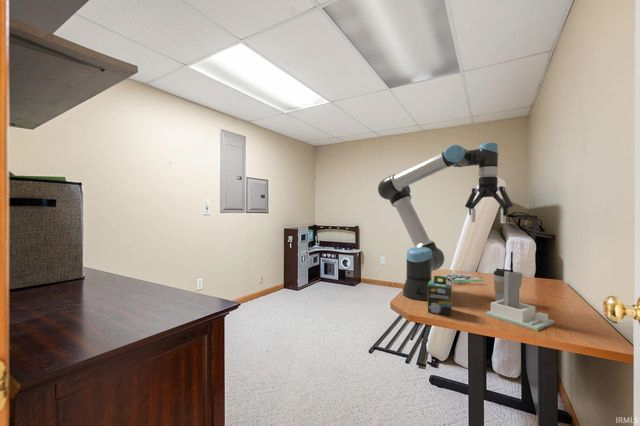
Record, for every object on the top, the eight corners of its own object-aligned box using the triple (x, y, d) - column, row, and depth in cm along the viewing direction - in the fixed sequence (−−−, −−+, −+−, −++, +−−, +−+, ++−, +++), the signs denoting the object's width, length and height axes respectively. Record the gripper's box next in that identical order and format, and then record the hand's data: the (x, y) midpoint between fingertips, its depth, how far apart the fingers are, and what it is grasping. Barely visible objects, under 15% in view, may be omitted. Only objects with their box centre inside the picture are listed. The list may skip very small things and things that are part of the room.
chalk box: (451, 309, 121) (452, 274, 121) (451, 316, 112) (452, 279, 112) (428, 306, 125) (429, 272, 125) (427, 312, 116) (427, 276, 116)
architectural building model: (484, 314, 115) (484, 302, 115) (502, 309, 122) (502, 297, 122) (537, 330, 99) (537, 316, 99) (553, 323, 107) (554, 309, 107)
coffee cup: (518, 302, 132) (519, 269, 132) (512, 306, 126) (512, 272, 126) (496, 297, 139) (497, 266, 139) (489, 301, 133) (490, 269, 133)
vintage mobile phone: (521, 316, 110) (522, 252, 110) (507, 315, 111) (508, 251, 111) (517, 313, 114) (518, 251, 114) (503, 312, 115) (504, 250, 115)
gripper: (522, 174, 123) (521, 223, 123) (466, 180, 144) (466, 221, 144) (513, 173, 119) (513, 223, 119) (458, 178, 140) (457, 221, 140)
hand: (487, 222), depth 132 cm, fingers open, 13 cm apart
